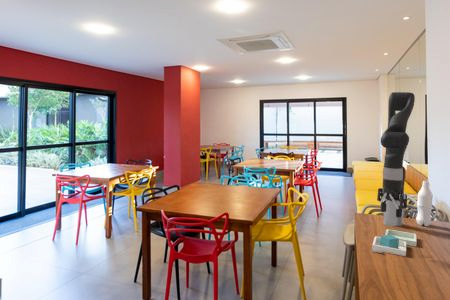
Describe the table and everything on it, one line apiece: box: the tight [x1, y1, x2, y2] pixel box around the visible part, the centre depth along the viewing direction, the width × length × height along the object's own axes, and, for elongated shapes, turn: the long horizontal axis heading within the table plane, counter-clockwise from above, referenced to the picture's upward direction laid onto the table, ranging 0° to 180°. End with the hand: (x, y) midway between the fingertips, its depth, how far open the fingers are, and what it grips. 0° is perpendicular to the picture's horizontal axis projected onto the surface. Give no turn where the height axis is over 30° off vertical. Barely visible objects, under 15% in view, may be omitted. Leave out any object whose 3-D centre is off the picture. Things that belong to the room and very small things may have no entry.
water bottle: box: [415, 180, 434, 227], centre depth 169 cm, size 7×7×25 cm
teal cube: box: [380, 234, 399, 249], centre depth 134 cm, size 5×5×5 cm
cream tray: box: [371, 236, 407, 257], centre depth 134 cm, size 13×13×3 cm
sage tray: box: [384, 228, 417, 247], centre depth 144 cm, size 13×13×3 cm
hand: (390, 214), depth 133 cm, fingers open, 8 cm apart
